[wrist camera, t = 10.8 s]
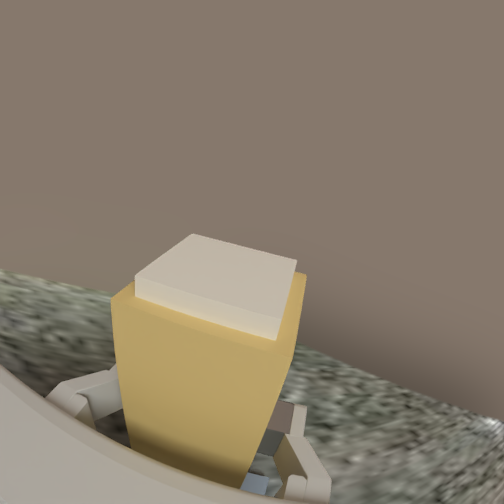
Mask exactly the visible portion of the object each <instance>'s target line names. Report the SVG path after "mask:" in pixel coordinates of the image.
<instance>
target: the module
mask: <svg viewBox="0 0 504 504" xmlns="http://www.w3.org/2000/svg"><path fill="white" fill-rule="evenodd" d="M296 263H297V260H294V259H290V258H286V257H282V256H278V255H274V254H270V253H266V252H263V251H259V250H255V249H251V248H247V247H243V246H239V245H235V244H232V243H228V242H224V241H220V240H216V239H212V238H208V237H204V236H200V235H196V234H191V235H190V236H188V237H187V238H186V239H184V240H183V241H181V242H180V243H178V244H177V245H176V246H174V247H173V248H171V249H170V250H169V251H167V252H166V253H164V254H163V255H162V256H160V257H159V258H158V259H156V260H155V261H153V262H152V263H151V264H149V265H148V266H147V267H145V268H144V269H143V270H141V271H140V272H139V273H137V274H136V275H135V280H134V281H133V282H131V283H130V284H129V285H128V286H127V287H125V288H124V289H123V290H121V291H120V292H119V293H117V294H116V295H115V296H113V297H112V298H111V313H112V326H113V337H114V347H115V356H116V365H117V372H118V379H119V386H120V393H121V399H122V405H123V410H124V416H125V421H126V426H127V431H128V436H129V440H130V445H131V449H132V450H134V451H136V452H138V453H141V454H143V455H145V456H147V457H149V458H152V459H154V460H156V461H159V462H161V463H163V464H166V465H168V466H171V467H173V468H176V469H179V470H181V471H184V472H187V473H189V474H192V475H195V476H198V477H201V478H204V479H207V480H210V481H213V482H216V483H219V484H223V485H226V486H230V487H233V488H237V489H240V488H241V486H242V484H243V481H244V479H245V477H246V475H247V472H248V470H249V468H250V466H251V463H252V461H253V459H254V456H255V454H256V452H257V449H258V447H259V444H260V442H261V440H262V437H263V435H264V432H265V430H266V427H267V425H268V422H269V420H270V417H271V415H272V412H273V410H274V407H275V405H276V402H277V399H278V397H279V394H280V391H281V389H282V386H283V383H284V381H285V378H286V375H287V372H288V370H289V367H290V364H291V361H292V358H293V353H294V348H295V343H296V337H297V332H298V326H299V320H300V314H301V308H302V302H303V296H304V290H305V283H306V276H307V275H305V274H301V273H297V272H294V271H295V266H296Z"/></svg>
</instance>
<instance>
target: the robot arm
mask: <svg viewBox="0 0 504 504" xmlns="http://www.w3.org/2000/svg"><path fill="white" fill-rule="evenodd" d="M122 408H123V405H122V399H121V393H120V386H119V379H118V372H117V365H116V364H115V365H114V366H113V367H112V368H111V369H110V370H109V371H108V370H103V371H100V372H96V373H93V374H89V375H85V376H82V377H78V378H74V379H71V380H67V381H63V382H60V383H59V384H58V385H57V386H56V387H55V388H54V389H53V390H52V391H51V392H50V393H49V394H48V395H47V396H46V397H45V398H43V397H42V396H41V395H39V394H38V393H36V392H35V391H34V390H32V389H31V388H30V387H28V386H27V385H26V384H24V383H23V382H22V381H21V380H19V379H18V378H17V377H15V376H14V375H13V374H12V373H11V372H9V371H8V370H7V369H6V368H5V367H3V366H2V365H1V364H0V504H329V501H330V491H331V481H332V480H331V478H330V477H329V475H328V474H327V472H326V470H325V469H324V467H323V465H322V464H321V462H320V460H319V459H318V457H317V455H316V453H315V452H314V450H313V448H312V447H311V445H310V443H309V442H308V440H307V438H304V437H303V434H304V427H305V420H306V412H307V407H306V406H303V405H298V404H294V403H290V402H285V401H281V400H277V402H276V405H275V407H274V410H273V412H272V415H271V417H270V420H269V422H268V425H267V427H266V430H265V432H264V435H263V437H262V440H261V442H260V444H259V447H258V449H257V453H261V454H264V455H268V456H272V457H273V459H274V462H275V464H276V467H277V470H278V472H279V475H280V477H281V480H282V482H283V485H282V487H281V488H280V489H279V491H278V492H277V493H276V495H275V496H274V497H270V496H265V495H261V494H256V493H252V492H248V491H244V490H240V489H237V488H233V487H230V486H226V485H223V484H219V483H216V482H213V481H210V480H207V479H204V478H201V477H198V476H195V475H192V474H189V473H187V472H184V471H181V470H179V469H176V468H173V467H171V466H168V465H166V464H163V463H161V462H159V461H156V460H154V459H152V458H149V457H147V456H145V455H143V454H141V453H138V452H136V451H134V450H132V449H130V448H128V447H126V446H124V445H122V444H120V443H118V442H116V441H114V440H112V439H110V438H108V437H106V436H105V435H103V434H101V433H99V432H97V430H96V427H95V424H94V421H96V420H98V419H100V418H103V417H105V416H107V415H109V414H111V413H114V412H116V411H118V410H120V409H122Z"/></svg>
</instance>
